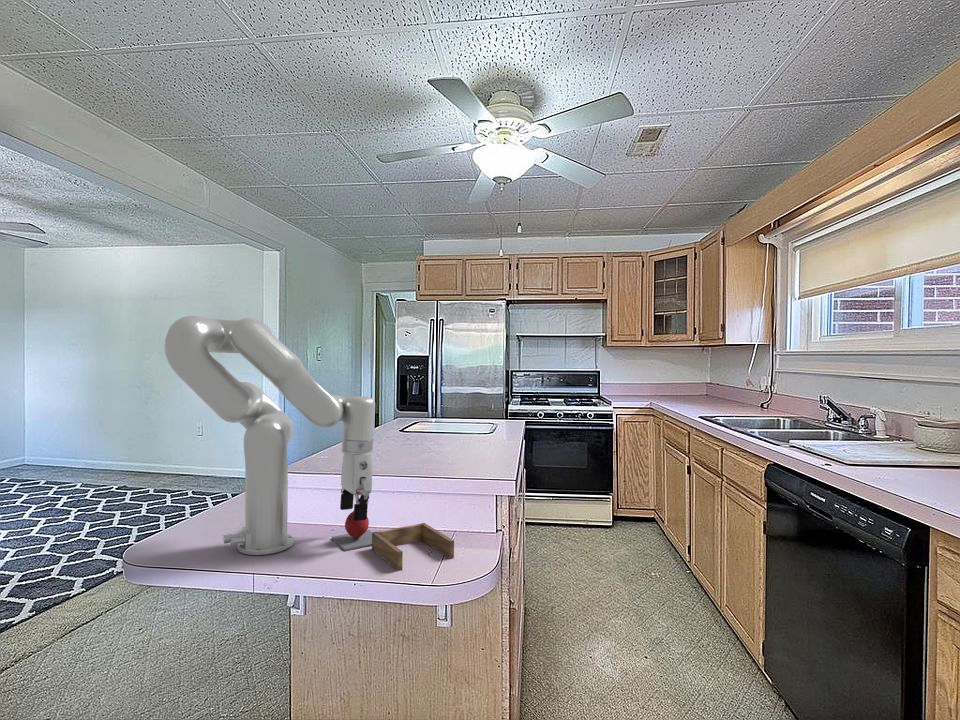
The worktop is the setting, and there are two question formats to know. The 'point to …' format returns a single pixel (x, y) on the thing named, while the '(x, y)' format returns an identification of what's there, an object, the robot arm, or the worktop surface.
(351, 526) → the onion
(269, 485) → the robot arm
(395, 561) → the tan u-shaped frame
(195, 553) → the worktop surface
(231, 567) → the worktop surface
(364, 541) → the mat
